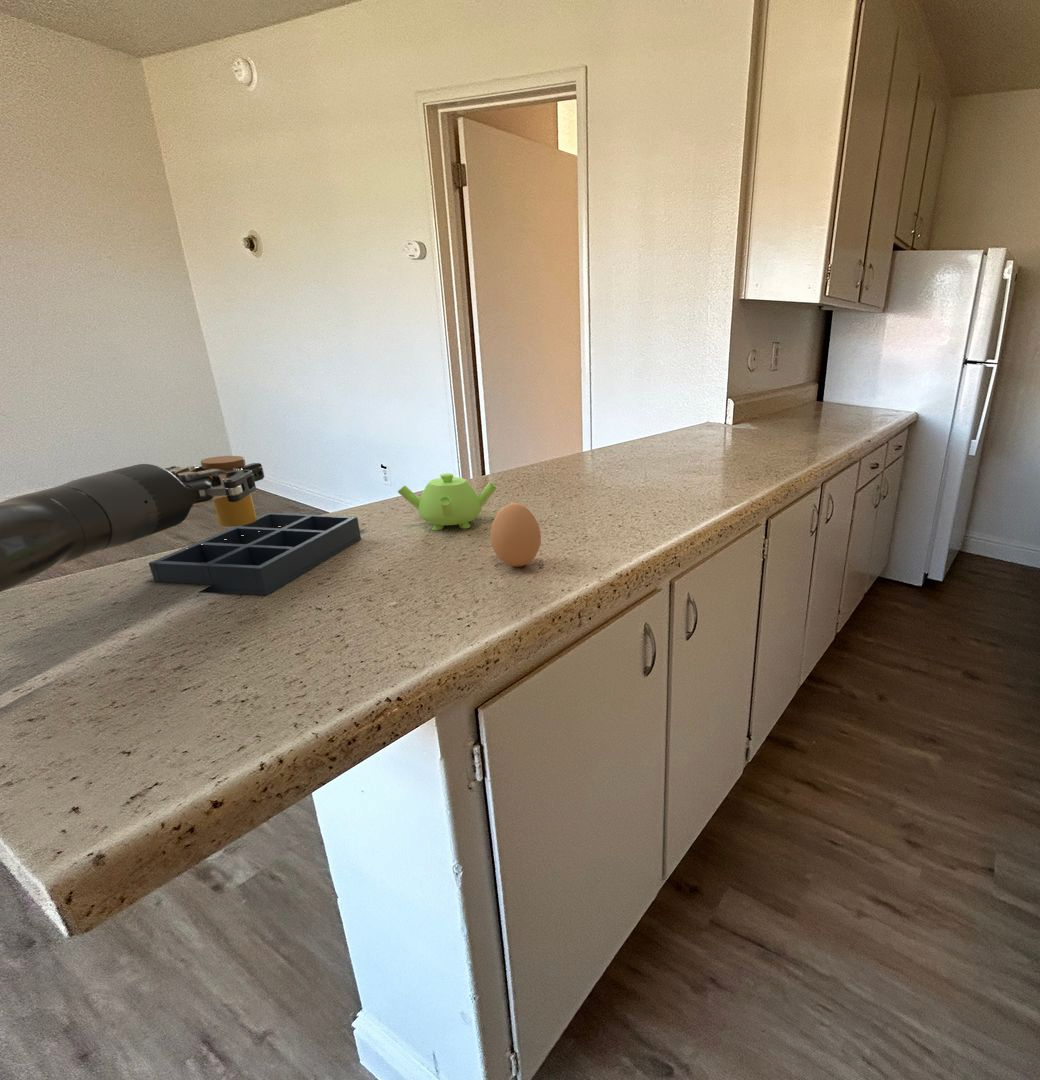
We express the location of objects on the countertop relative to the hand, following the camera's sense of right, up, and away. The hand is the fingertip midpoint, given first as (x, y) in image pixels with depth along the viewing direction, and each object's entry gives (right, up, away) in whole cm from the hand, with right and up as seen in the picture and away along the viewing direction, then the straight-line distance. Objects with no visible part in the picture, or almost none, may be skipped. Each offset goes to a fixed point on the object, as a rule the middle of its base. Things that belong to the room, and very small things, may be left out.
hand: (242, 469), depth 79 cm
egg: (+35, -13, +5) cm, 38 cm away
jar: (0, -7, 0) cm, 7 cm away
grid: (+2, -12, +2) cm, 13 cm away
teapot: (+20, -7, +19) cm, 28 cm away
